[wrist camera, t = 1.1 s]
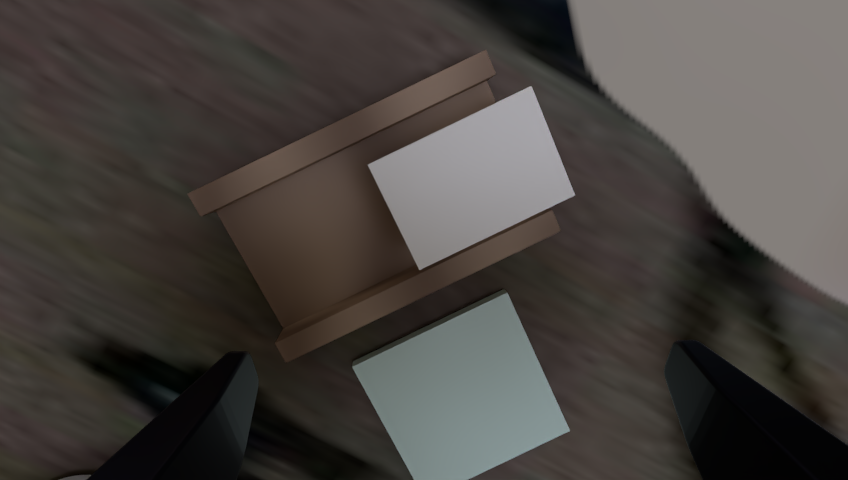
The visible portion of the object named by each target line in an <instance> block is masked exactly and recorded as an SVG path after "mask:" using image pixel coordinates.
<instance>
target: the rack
mask: <svg viewBox="0 0 848 480" xmlns="http://www.w3.org/2000/svg"><path fill="white" fill-rule="evenodd" d="M495 74H496V73H495V70H494V68H493V65H492V63H491V61H490V58H489V56H488V53H487V51H486V50H484V51H482V52H480V53H478V54H476V55H474V56H472V57H470V58H468V59H466V60H464V61H461V62H459V63H457V64H455V65H453V66H451V67H449V68H447V69H445V70H443V71H441V72H439V73H437V74H435V75H432V76H430V77H428V78H426V79H424V80H422V81H420V82H418V83H416V84H414V85H412V86H410V87H408V88H406V89H403V90H401V91H399V92H397V93H395V94H393V95H391V96H389V97H387V98H385V99H383V100H381V101H379V102H377V103H374V104H372V105H370V106H368V107H366V108H364V109H362V110H360V111H358V112H356V113H354V114H352V115H350V116H347V117H345V118H343V119H341V120H339V121H337V122H335V123H333V124H331V125H329V126H327V127H325V128H323V129H321V130H318V131H316V132H314V133H312V134H310V135H308V136H306V137H304V138H302V139H300V140H298V141H296V142H294V143H292V144H289V145H287V146H285V147H283V148H281V149H279V150H277V151H275V152H273V153H271V154H269V155H267V156H265V157H263V158H260V159H258V160H256V161H254V162H252V163H250V164H248V165H246V166H244V167H242V168H240V169H238V170H236V171H234V172H231V173H229V174H227V175H225V176H223V177H221V178H219V179H217V180H215V181H213V182H211V183H209V184H207V185H205V186H202V187H200V188H198V189H196V190H194V191H192V192H190V193H188V196H189V198H190V199H191V201H192V203H193V205H194V206H195V208H196V210H197V211H198V213H199V215H200V217H201V216H204V215H207V214H210V213H213V212H216V213H217V214H218V216H219V218H220V219H221V221H222V223H223V225H224V226H225V228H226V230H227V232H228V233H229V235H230V237H231V239H232V240H233V242H234V244H235V246H236V247H237V249H238V251H239V253H240V254H241V256H242V258H243V260H244V261H245V263H246V265H247V266H248V268H249V270H250V272H251V273H252V275H253V277H254V279H255V280H256V282H257V284H258V286H259V287H260V289H261V291H262V293H263V294H264V296H265V298H266V300H267V301H268V303H269V305H270V307H271V308H272V310H273V312H274V313H275V315H276V317H277V319H278V320H279V322H280V324H281V326H282V327H283V330H282V332H281V333H280V335H279V337H278V338H277V340H276V342H275V345H276V347H277V349H278V350H279V352H280V354H281V355H282V357H283V359H284V361H285V362H286V363H287V362H289V361H291V360H294V359H296V358H298V357H300V356H302V355H304V354H306V353H308V352H310V351H312V350H314V349H316V348H319V347H321V346H323V345H325V344H327V343H329V342H331V341H333V340H335V339H337V338H339V337H341V336H344V335H346V334H348V333H350V332H352V331H354V330H356V329H358V328H360V327H362V326H364V325H366V324H369V323H371V322H373V321H375V320H377V319H379V318H381V317H383V316H385V315H387V314H389V313H391V312H394V311H396V310H398V309H400V308H402V307H404V306H406V305H408V304H410V303H412V302H414V301H416V300H419V299H421V298H423V297H425V296H427V295H429V294H431V293H433V292H435V291H437V290H439V289H441V288H444V287H446V286H448V285H450V284H452V283H454V282H456V281H458V280H460V279H462V278H464V277H466V276H469V275H471V274H473V273H475V272H477V271H479V270H481V269H483V268H485V267H487V266H489V265H491V264H494V263H496V262H498V261H500V260H502V259H504V258H506V257H508V256H510V255H512V254H514V253H516V252H519V251H521V250H523V249H525V248H527V247H529V246H531V245H533V244H535V243H537V242H539V241H541V240H544V239H546V238H548V237H550V236H552V235H554V234H556V233H558V232H560V231H561V230H560V227H559V225H558V222H557V220H556V218H555V215H554V213H553V210H551V209H546V210H544V211H542V212H539V213H537V214H535V215H533V216H531V217H529V218H527V219H525V220H523V221H521V222H519V223H517V224H514V225H512V226H510V227H508V228H506V229H504V230H502V231H500V232H498V233H496V234H494V235H492V236H489V237H487V238H485V239H483V240H481V241H479V242H477V243H475V244H473V245H471V246H469V247H467V248H465V249H462V250H460V251H458V252H456V253H454V254H452V255H450V256H448V257H446V258H444V259H442V260H440V261H437V262H435V263H433V264H431V265H429V266H427V267H425V268H423V269H421V270H419V268H418V266H417V264H416V262H415V260H414V258H413V256H412V254H411V252H410V250H409V248H408V246H407V244H406V242H405V240H404V238H403V236H402V234H401V232H400V230H399V228H398V226H397V224H396V222H395V220H394V218H393V216H392V213H391V211H390V209H389V207H388V205H387V203H386V201H385V199H384V197H383V195H382V193H381V191H380V189H379V187H378V185H377V183H376V181H375V179H374V177H373V175H372V173H371V171H370V169H369V167H368V164H370V163H372V162H374V161H376V160H378V159H380V158H382V157H384V156H386V155H388V154H390V153H392V152H395V151H397V150H399V149H401V148H403V147H405V146H407V145H409V144H411V143H413V142H415V141H417V140H419V139H422V138H424V137H426V136H428V135H430V134H432V133H434V132H436V131H438V130H440V129H442V128H444V127H446V126H449V125H451V124H453V123H455V122H457V121H459V120H461V119H463V118H465V117H467V116H469V115H471V114H473V113H475V112H478V111H480V110H482V109H484V108H486V107H488V106H490V105H492V104H494V103H496V101H495V99H494V97H493V94H492V92H491V89H490V87H489V85H488V82H487V80H489V79H490V78H491V77H493V76H494V75H495Z"/></svg>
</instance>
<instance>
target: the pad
mask: <svg viewBox="0 0 848 480" xmlns="http://www.w3.org/2000/svg"><path fill="white" fill-rule="evenodd" d="M352 368H353V370H354V372H355V373H356V375H357V377H358V379H359V381H360V383H361V384H362V386H363V388H364V390H365V392H366V393H367V395H368V397H369V399H370V401H371V403H372V404H373V406H374V408H375V410H376V412H377V413H378V415H379V417H380V419H381V421H382V423H383V424H384V426H385V428H386V430H387V432H388V433H389V435H390V437H391V439H392V441H393V443H394V444H395V446H396V448H397V450H398V452H399V453H400V455H401V457H402V459H403V461H404V462H405V464H406V466H407V468H408V470H409V472H410V473H411V475H412V477H413V479H414V480H468V479H470V478H472V477H474V476H476V475H479V474H481V473H483V472H485V471H487V470H489V469H491V468H493V467H495V466H497V465H499V464H502V463H504V462H506V461H508V460H510V459H512V458H514V457H516V456H518V455H520V454H523V453H525V452H527V451H529V450H531V449H533V448H535V447H537V446H539V445H541V444H543V443H546V442H548V441H550V440H552V439H554V438H556V437H558V436H560V435H562V434H564V433H566V432H569V431H570V430H569V428H568V425H567V423H566V421H565V419H564V416H563V414H562V412H561V410H560V408H559V405H558V403H557V401H556V399H555V397H554V394H553V392H552V390H551V388H550V386H549V383H548V381H547V379H546V377H545V375H544V372H543V370H542V368H541V366H540V364H539V361H538V359H537V357H536V355H535V352H534V350H533V348H532V346H531V344H530V341H529V339H528V337H527V335H526V333H525V330H524V328H523V326H522V324H521V322H520V319H519V317H518V315H517V313H516V311H515V308H514V306H513V304H512V302H511V300H510V297H509V295H508V293H507V292H506V290H505V289H503V290H501V291H498V292H496V293H494V294H492V295H490V296H488V297H486V298H484V299H482V300H480V301H478V302H476V303H473V304H471V305H469V306H467V307H465V308H463V309H461V310H459V311H457V312H455V313H453V314H451V315H448V316H446V317H444V318H442V319H440V320H438V321H436V322H434V323H432V324H430V325H428V326H426V327H423V328H421V329H419V330H417V331H415V332H413V333H411V334H409V335H407V336H405V337H403V338H401V339H398V340H396V341H394V342H392V343H390V344H388V345H386V346H384V347H382V348H380V349H378V350H375V351H373V352H371V353H369V354H367V355H365V356H363V357H361V358H359V359H357V360H355V361H353V363H352Z"/></svg>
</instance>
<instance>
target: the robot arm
mask: <svg viewBox="0 0 848 480" xmlns="http://www.w3.org/2000/svg"><path fill="white" fill-rule="evenodd" d="M664 374H665V379H666V382H667V385H668V388H669V391H670V394H671V397H672V400H673V403H674V406H675V409H676V412H677V415H678V418H679V421H680V424H681V427H682V430H683V433H684V436H685V439H686V442H687V444H688V447H689V449H690V452H691V454H692V456H693V459H694V461H695V463H696V465H697V468H698V470H699V472H700V474H701V476H702V479H703V480H848V445H847V444H845V443H844V442H842V441H841V440H840V439H838V438H837V437H835V436H834V435H832V434H831V433H829V432H828V431H827V430H825V429H824V428H822V427H821V426H819V425H818V424H817V423H815V422H814V421H812V420H811V419H809V418H808V417H806V416H805V415H804V414H802V413H801V412H799V411H798V410H796V409H795V408H794V407H792V406H791V405H789V404H788V403H786V402H785V401H783V400H782V399H781V398H779V397H778V396H776V395H775V394H773V393H772V392H771V391H769V390H768V389H766V388H765V387H763V386H762V385H760V384H759V383H758V382H756V381H755V380H753V379H752V378H750V377H749V376H748V375H746V374H745V373H743V372H742V371H740V370H739V369H737V368H736V367H735V366H733V365H732V364H730V363H729V362H727V361H726V360H725V359H723V358H722V357H720V356H719V355H717V354H716V353H714V352H713V351H712V350H710V349H709V348H707V347H706V346H704V345H703V344H702V343H700V342H698V341H696V340H678V341H676V342H674V343H673V345H672V348H671V351H670V353H669V356H668V359H667V362H666V364H665V369H664ZM257 391H258V375H257V372H256V369H255V366H254V363H253V361H252V358H251V355H250V353H249V352H247V351H232V352H228V353H227V354H225V355H224V356H223V357H222V358H221V359H220V360H219V361H217V362H216V363H215V364H214V365H213V366H212V367H211V368H210V369H209V370H207V371H206V372H205V373H204V374H203V375H202V376H201V377H200V378H199V379H198V380H196V381H195V382H194V383H193V384H192V385H191V386H190V387H189V388H188V389H186V390H185V391H184V392H183V393H182V394H181V395H180V396H179V397H178V398H176V399H175V400H174V401H173V402H172V403H171V404H170V405H169V406H168V407H166V408H165V409H164V410H163V411H162V412H161V413H160V414H159V415H158V416H156V417H155V418H154V419H153V420H152V421H151V422H150V423H149V424H148V425H146V426H145V427H144V428H143V429H142V430H141V431H140V432H139V433H138V434H136V435H135V436H134V437H133V438H132V439H131V440H130V441H129V442H128V443H126V444H125V445H124V446H123V447H122V448H121V449H120V450H119V451H118V452H116V453H115V454H114V455H113V456H112V457H111V458H110V459H109V460H108V461H106V462H105V463H104V464H103V465H102V466H101V467H100V468H99V469H98V470H97V471H95V472H94V473H93V474H92V475H91V476H90V477H89V478H88V479H87V480H237V477H238V474H239V470H240V467H241V464H242V460H243V457H244V453H245V449H246V444H247V439H248V434H249V430H250V425H251V420H252V415H253V410H254V405H255V400H256V395H257Z"/></svg>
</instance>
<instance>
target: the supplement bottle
mask: <svg viewBox="0 0 848 480" xmlns="http://www.w3.org/2000/svg"><path fill="white" fill-rule="evenodd" d="M90 476H91V475H75V476H70V477H66V478H62V479H59V480H87V479H88V478H89V477H90Z"/></svg>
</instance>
